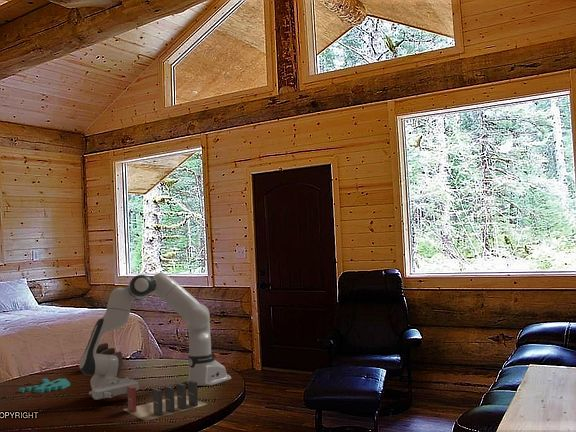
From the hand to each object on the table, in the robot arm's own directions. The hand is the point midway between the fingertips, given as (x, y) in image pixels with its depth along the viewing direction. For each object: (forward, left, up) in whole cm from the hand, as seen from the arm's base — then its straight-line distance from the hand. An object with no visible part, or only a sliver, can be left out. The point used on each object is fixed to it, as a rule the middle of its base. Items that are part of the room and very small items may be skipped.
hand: (122, 393), depth 240 cm
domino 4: (-22, +23, -6) cm, 32 cm away
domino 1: (-6, +23, -6) cm, 24 cm away
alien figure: (+12, -66, -7) cm, 67 cm away
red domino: (0, +10, -6) cm, 12 cm away
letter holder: (-25, -83, -7) cm, 87 cm away
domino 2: (-11, +23, -6) cm, 26 cm away
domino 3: (-17, +23, -6) cm, 29 cm away
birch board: (-13, +16, -7) cm, 21 cm away
